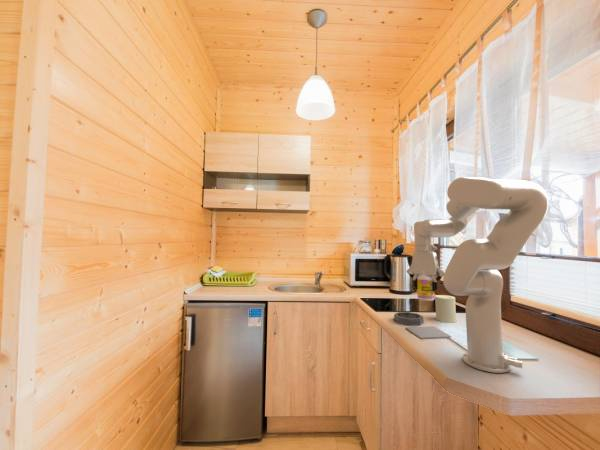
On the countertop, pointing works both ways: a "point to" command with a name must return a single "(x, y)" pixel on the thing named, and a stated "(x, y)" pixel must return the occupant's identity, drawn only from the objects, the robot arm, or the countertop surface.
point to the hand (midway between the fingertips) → (425, 289)
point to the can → (445, 308)
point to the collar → (409, 318)
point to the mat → (428, 332)
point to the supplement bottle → (425, 287)
